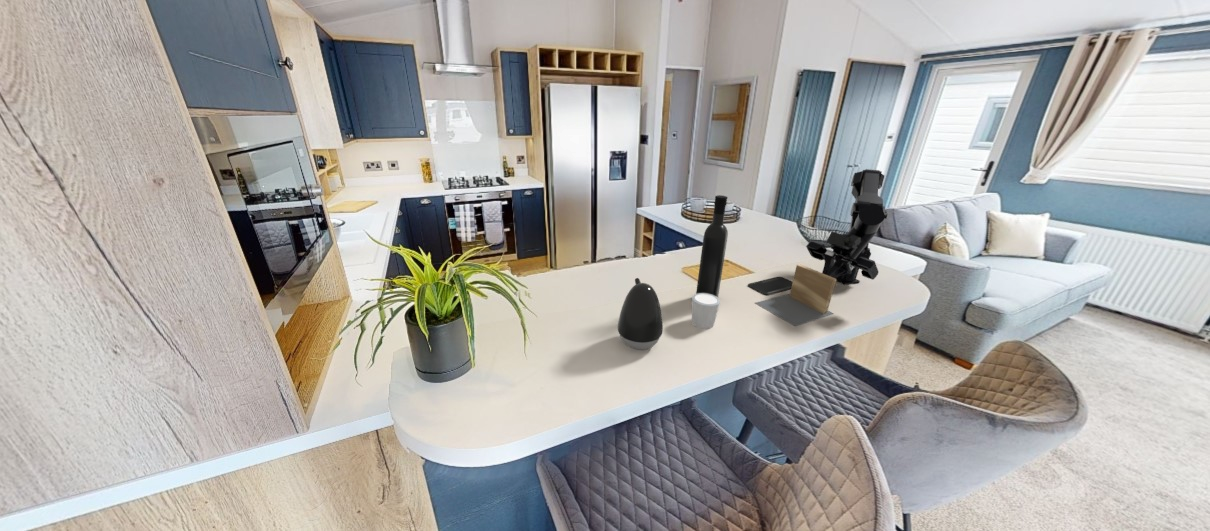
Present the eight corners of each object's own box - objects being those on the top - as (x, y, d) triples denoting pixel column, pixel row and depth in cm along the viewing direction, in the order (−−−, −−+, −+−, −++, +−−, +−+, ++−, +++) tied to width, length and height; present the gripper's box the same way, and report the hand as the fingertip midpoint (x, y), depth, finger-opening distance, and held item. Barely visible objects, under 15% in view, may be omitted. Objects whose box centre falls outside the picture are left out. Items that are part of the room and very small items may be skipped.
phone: (800, 285, 119) (766, 294, 113) (800, 288, 120) (765, 297, 113) (779, 276, 126) (746, 283, 119) (779, 279, 126) (745, 287, 120)
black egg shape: (653, 329, 95) (658, 273, 89) (667, 354, 86) (673, 293, 80) (613, 332, 93) (615, 275, 87) (622, 358, 84) (625, 296, 78)
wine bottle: (694, 302, 109) (707, 197, 97) (698, 294, 114) (712, 193, 102) (714, 307, 107) (731, 199, 95) (718, 298, 111) (734, 195, 100)
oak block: (792, 295, 114) (800, 264, 110) (827, 312, 105) (836, 279, 101) (789, 296, 113) (796, 265, 109) (823, 313, 104) (832, 280, 100)
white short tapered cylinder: (683, 322, 98) (686, 298, 96) (697, 313, 103) (700, 290, 100) (708, 333, 94) (711, 308, 91) (721, 323, 99) (725, 298, 96)
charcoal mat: (791, 293, 115) (792, 293, 115) (834, 314, 104) (834, 313, 104) (754, 303, 109) (754, 302, 109) (794, 327, 98) (795, 326, 98)
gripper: (818, 213, 111) (783, 254, 111) (885, 231, 96) (846, 279, 96) (828, 236, 118) (796, 275, 117) (893, 256, 102) (856, 301, 102)
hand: (821, 281), depth 108 cm, fingers closed
